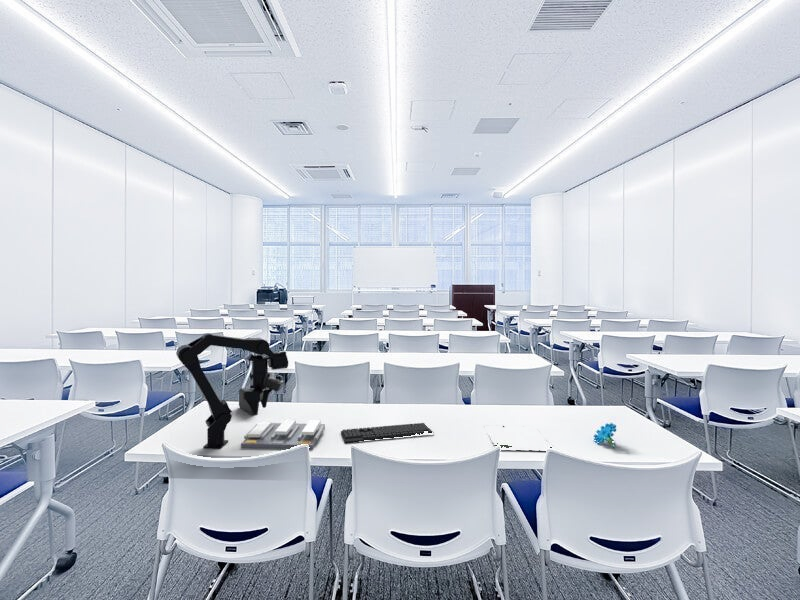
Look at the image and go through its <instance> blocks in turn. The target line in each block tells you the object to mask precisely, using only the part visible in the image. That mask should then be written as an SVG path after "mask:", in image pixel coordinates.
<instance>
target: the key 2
mask: <svg viewBox="0 0 800 600" xmlns="http://www.w3.org/2000/svg"><path fill="white" fill-rule="evenodd" d="M321 421H322V420H320V419H319V420H318V419H310V420H308V422H306V424H307V425H306V426H305V428H304V429H303V430H302V435H314V433H315V432H316V430H317V429H318V427H319V425H320V424H322V422H321Z"/></svg>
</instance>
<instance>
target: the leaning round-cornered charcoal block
mask: <svg viewBox="0 0 800 600" xmlns="http://www.w3.org/2000/svg"><path fill="white" fill-rule="evenodd" d="M248 389H249V388H244V387H243V388H239V389H238V407H239V408H240V409H242V410H243V411H245V412H246V413H248V414H250V416H251V415H252V416H255V415H254V413H253V412H252V410H251V408H250V406H249V404H248V403H247V401H245V399H243V394H244V393H245V392H246V391H247V390H248Z"/></svg>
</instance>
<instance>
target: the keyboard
mask: <svg viewBox="0 0 800 600" xmlns="http://www.w3.org/2000/svg"><path fill="white" fill-rule="evenodd" d="M425 424H426V423H425V422H420V423H419V422H417V423H407V424H406V423H405V424H395V425H384V426H381V425H380V426H371V427H370V426H369V427H359V428H348V429H342V430H340V435H341V438H342V439H343V443H344V444H354V443H353V442H357V443H360V442H359V441H364V440H375V439H383V438H394V437H403V436H411V435H415V434H416V433H417V434H419V435H420V433H421V434H423V433H424V431H428V433H432V432H433V430H431V428H430V427H429V426H428V425H427V424H426V425H427V426H428V427H429V428H428V427H427V426H426V425H425Z"/></svg>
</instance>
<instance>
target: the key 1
mask: <svg viewBox="0 0 800 600" xmlns="http://www.w3.org/2000/svg"><path fill="white" fill-rule="evenodd" d="M271 423H272V422H269V421H268V422H266V421H265V422H264V421H260V422H259V423H258V425H257V424H256V425H257V426H256V427H255V428H254V429H253V430H252V431H251V432H250V433H248V432H247V433H248V437H261V436H262V435H263V433H264V432H265V431H266V430H267V429H268V428H269V427H270V426H271Z"/></svg>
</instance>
